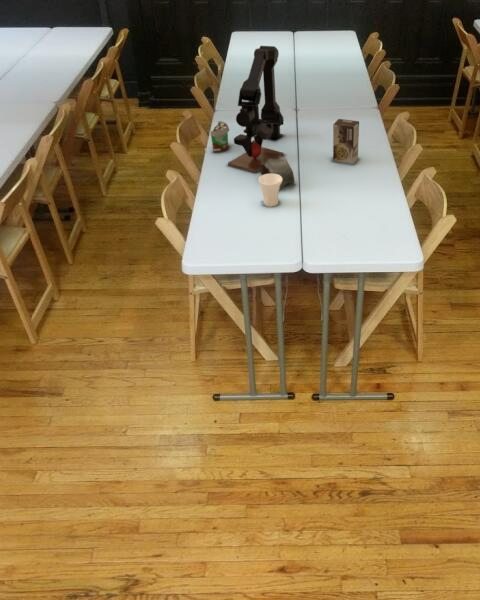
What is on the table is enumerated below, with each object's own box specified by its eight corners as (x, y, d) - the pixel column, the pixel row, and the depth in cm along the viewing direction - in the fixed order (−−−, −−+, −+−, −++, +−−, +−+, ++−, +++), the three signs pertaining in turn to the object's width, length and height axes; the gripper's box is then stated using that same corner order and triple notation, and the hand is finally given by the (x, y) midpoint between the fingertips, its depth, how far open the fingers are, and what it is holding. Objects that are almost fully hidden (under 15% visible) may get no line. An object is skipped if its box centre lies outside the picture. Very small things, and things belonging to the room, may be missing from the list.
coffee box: (358, 158, 261) (359, 121, 251) (353, 164, 256) (354, 126, 247) (338, 155, 264) (338, 118, 254) (332, 161, 260) (332, 123, 250)
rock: (257, 173, 252) (256, 155, 248) (284, 169, 255) (283, 151, 250) (268, 193, 238) (267, 174, 234) (297, 189, 241) (296, 170, 236)
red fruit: (247, 155, 263) (246, 137, 259) (261, 155, 264) (260, 136, 259) (248, 161, 259) (246, 143, 254) (262, 161, 259) (261, 142, 254)
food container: (226, 154, 268) (224, 132, 262) (212, 153, 269) (210, 131, 263) (234, 143, 277) (232, 121, 271) (220, 142, 279) (218, 120, 273)
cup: (275, 210, 227) (274, 185, 221) (254, 204, 232) (253, 180, 226) (288, 200, 233) (288, 176, 227) (268, 195, 237) (266, 170, 231)
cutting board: (256, 148, 272) (256, 145, 272) (283, 155, 266) (283, 152, 265) (228, 165, 259) (228, 162, 258) (255, 173, 253) (255, 170, 252)
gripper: (254, 129, 241) (256, 166, 250) (281, 113, 253) (283, 149, 262) (231, 123, 246) (234, 160, 255) (259, 108, 258) (261, 144, 267)
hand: (254, 153), depth 260 cm, fingers closed on red fruit, 6 cm apart
